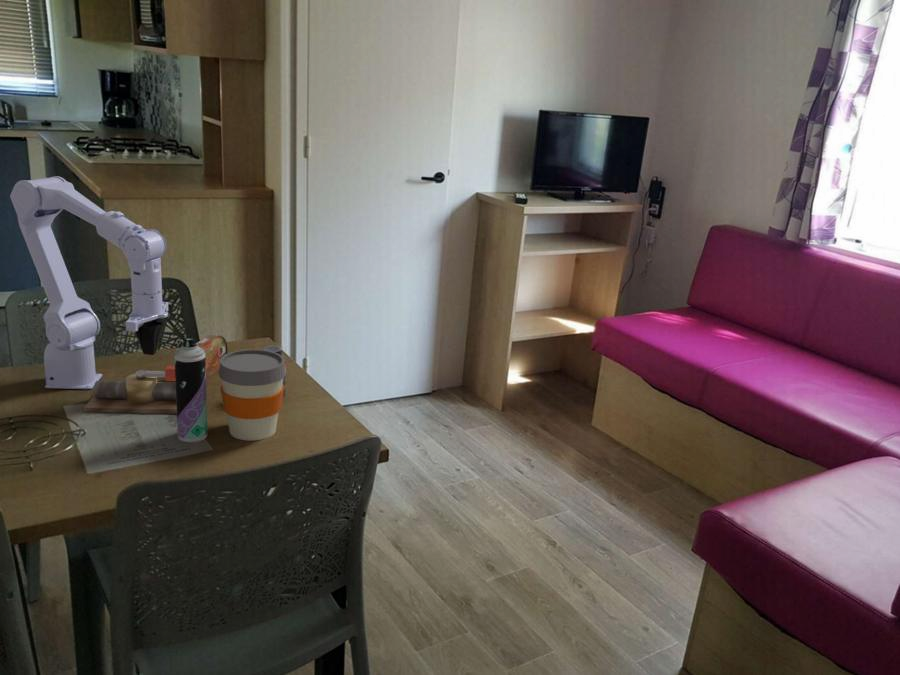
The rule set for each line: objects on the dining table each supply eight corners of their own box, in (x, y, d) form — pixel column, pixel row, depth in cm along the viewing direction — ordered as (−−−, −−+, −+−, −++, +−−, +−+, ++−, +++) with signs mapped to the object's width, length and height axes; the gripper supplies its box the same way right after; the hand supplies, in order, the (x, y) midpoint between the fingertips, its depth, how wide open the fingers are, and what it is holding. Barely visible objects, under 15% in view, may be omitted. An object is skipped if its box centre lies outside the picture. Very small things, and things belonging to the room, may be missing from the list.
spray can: (180, 444, 144) (176, 345, 138) (175, 432, 149) (171, 335, 142) (210, 440, 147) (207, 342, 140) (204, 428, 151) (201, 333, 145)
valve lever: (134, 380, 157) (134, 368, 156) (137, 375, 159) (136, 364, 158) (187, 381, 158) (187, 369, 158) (189, 377, 160) (189, 365, 160)
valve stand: (84, 411, 154) (82, 386, 152) (99, 392, 163) (98, 367, 161) (187, 413, 157) (186, 388, 155) (196, 394, 166) (195, 370, 164)
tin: (194, 386, 170) (193, 351, 167) (182, 384, 171) (180, 349, 168) (229, 364, 184) (228, 331, 181) (217, 362, 185) (216, 329, 182)
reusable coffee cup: (211, 423, 153) (209, 354, 148) (270, 412, 160) (270, 345, 156) (233, 450, 144) (232, 376, 139) (295, 436, 151) (296, 366, 146)
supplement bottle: (251, 397, 167) (251, 348, 163) (269, 388, 172) (269, 341, 168) (273, 404, 164) (273, 355, 161) (291, 395, 170) (291, 347, 166)
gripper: (149, 302, 147) (152, 368, 152) (181, 284, 161) (183, 344, 166) (114, 298, 148) (117, 363, 152) (149, 280, 162) (151, 340, 166)
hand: (149, 353), depth 159 cm, fingers closed
